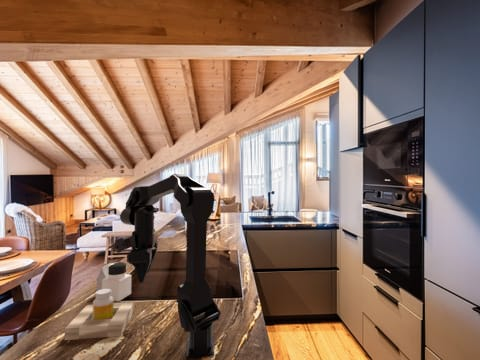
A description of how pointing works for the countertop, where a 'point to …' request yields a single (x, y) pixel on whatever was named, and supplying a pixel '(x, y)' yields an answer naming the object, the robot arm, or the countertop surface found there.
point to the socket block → (99, 323)
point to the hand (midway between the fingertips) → (144, 277)
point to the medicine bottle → (117, 281)
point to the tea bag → (102, 276)
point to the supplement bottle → (103, 305)
